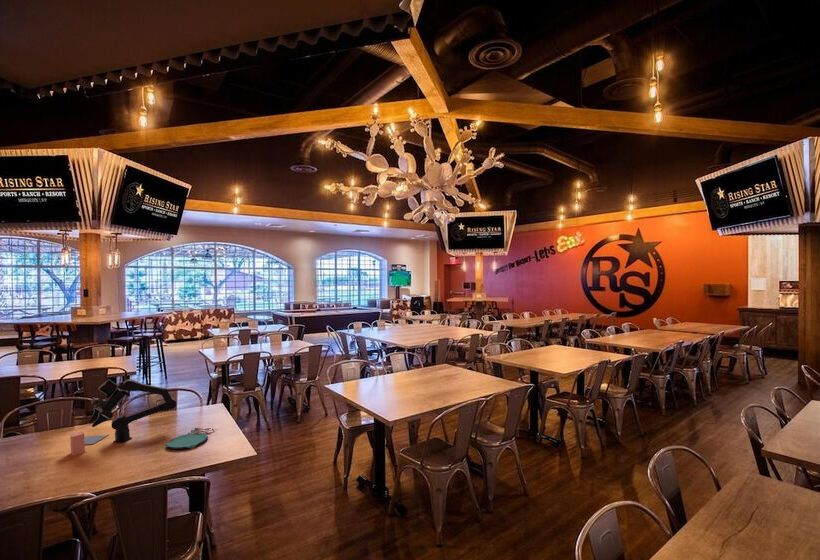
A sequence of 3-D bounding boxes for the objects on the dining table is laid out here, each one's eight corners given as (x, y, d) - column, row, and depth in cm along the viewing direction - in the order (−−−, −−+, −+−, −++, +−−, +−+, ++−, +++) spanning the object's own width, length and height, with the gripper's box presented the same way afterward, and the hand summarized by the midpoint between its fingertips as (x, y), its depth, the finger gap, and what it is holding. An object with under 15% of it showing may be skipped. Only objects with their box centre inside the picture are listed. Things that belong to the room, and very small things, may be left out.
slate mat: (108, 435, 231) (108, 435, 231) (93, 444, 219) (93, 443, 219) (86, 436, 230) (86, 436, 230) (70, 445, 218) (70, 444, 218)
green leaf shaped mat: (157, 451, 208) (157, 446, 208) (192, 430, 238) (192, 426, 238) (193, 451, 207) (193, 447, 207) (224, 430, 237) (224, 426, 237)
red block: (83, 449, 212) (82, 431, 212) (84, 452, 209) (84, 433, 209) (70, 453, 209) (70, 434, 209) (72, 455, 205) (72, 436, 205)
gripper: (98, 388, 223) (73, 413, 215) (105, 395, 211) (79, 421, 203) (115, 399, 229) (92, 423, 221) (123, 405, 217) (99, 431, 209)
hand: (90, 424), depth 213 cm, fingers open, 9 cm apart
